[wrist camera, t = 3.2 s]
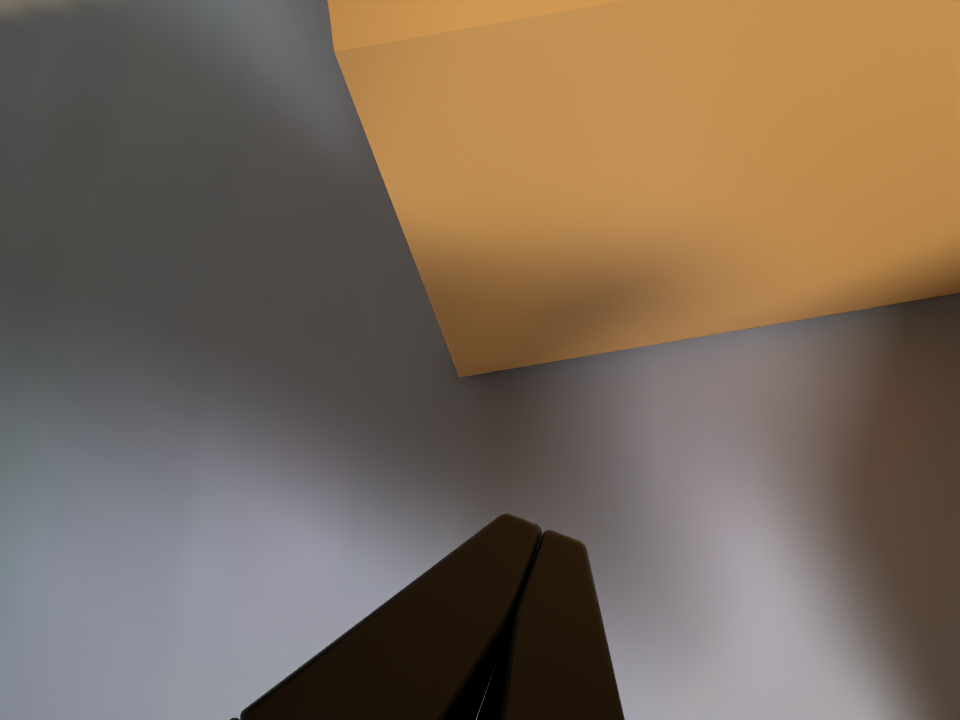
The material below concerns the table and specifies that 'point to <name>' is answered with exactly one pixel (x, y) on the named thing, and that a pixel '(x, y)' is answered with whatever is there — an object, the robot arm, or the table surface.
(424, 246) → the side door
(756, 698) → the table surface
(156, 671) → the table surface
